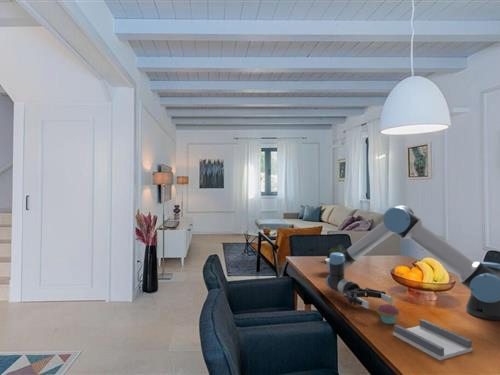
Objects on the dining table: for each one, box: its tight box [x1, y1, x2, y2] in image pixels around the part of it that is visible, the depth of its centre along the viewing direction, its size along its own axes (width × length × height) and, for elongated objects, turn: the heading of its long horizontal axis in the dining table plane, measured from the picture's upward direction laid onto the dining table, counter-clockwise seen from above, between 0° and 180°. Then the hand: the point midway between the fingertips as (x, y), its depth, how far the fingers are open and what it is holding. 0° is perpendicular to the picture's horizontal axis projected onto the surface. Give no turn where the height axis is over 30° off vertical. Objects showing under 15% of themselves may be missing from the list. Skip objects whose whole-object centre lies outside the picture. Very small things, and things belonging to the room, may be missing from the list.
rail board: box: [392, 318, 473, 361], centre depth 121 cm, size 20×16×4 cm
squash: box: [326, 244, 346, 259], centre depth 242 cm, size 14×15×15 cm
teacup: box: [324, 257, 330, 274], centre depth 212 cm, size 12×15×10 cm
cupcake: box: [376, 293, 400, 325], centre depth 139 cm, size 9×8×12 cm
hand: (380, 303), depth 142 cm, fingers open, 13 cm apart
